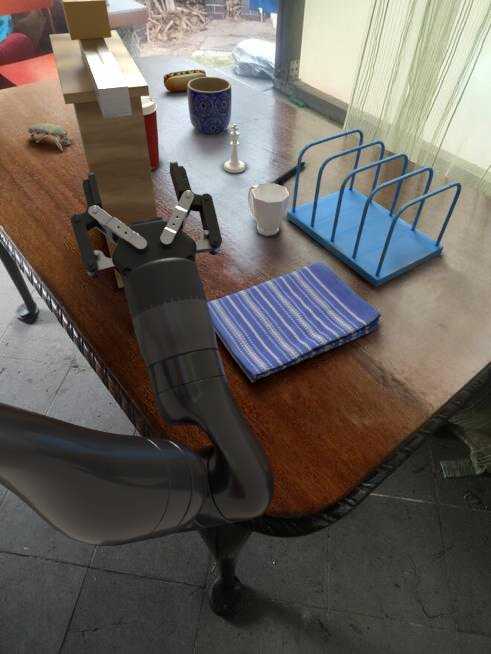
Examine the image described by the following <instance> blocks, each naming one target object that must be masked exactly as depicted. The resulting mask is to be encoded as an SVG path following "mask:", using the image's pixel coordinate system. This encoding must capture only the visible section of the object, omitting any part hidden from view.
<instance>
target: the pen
mask: <svg viewBox="0 0 491 654" xmlns="http://www.w3.org/2000/svg"><path fill="white" fill-rule="evenodd" d="M305 164H306V161H301V166H300V169H301V168H303V167H305ZM296 170H297V164H296V165H295V166H293V167H292V168H290V169H289V170H287V171H286V172H285V173H283V174H282V175H280V176H279V177H277V178H276V179H274V180H273V181H272V182H270V183H275V184H278V185H279V184H280V183H282V182H283V181H284V180H285V179H287V178H289V177H290V176H292V175H294V173H296Z"/></svg>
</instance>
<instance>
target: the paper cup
mask: <svg viewBox="0 0 491 654" xmlns="http://www.w3.org/2000/svg"><path fill="white" fill-rule="evenodd" d="M141 102H142V109H143V117H144V124H145V131H146V139H147V146H148V153H149V161H150V168H151V171H153V170H156V169H157V168H158V167H159V166H160V153H159V152H160V150H159V149H160V148H159V132H158V119H157V118H158V115H157V111H158V105H157V104H156V102H155V100H154V99H153V98H152V97H150V96H141Z"/></svg>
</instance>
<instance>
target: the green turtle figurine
mask: <svg viewBox="0 0 491 654" xmlns="http://www.w3.org/2000/svg"><path fill="white" fill-rule="evenodd" d="M27 132H28V133H29V134H31V135H30V137H31V139H29V141H31V142H32V141H33V140H34V138H35V135H37V136H41V135H42V136H41V137H39V139H37V140H35V143H40V142H41V140H42V139H43V138H46V137H51V139H52V140H53V142H54V143H55V144H56V146H57V147H58V148H59V149H60V151H61V152H62V151H64V150H63V147H62V144H61V143H60V141H63V142H64V143H63V145H65V146H67V145H68V144H71V141H70V139H69V135H68V132H67V129H66V128H65V127H63V125H59V124H57V123H47V122H46V123H45V122H44V123H43V122H35V123H33V124H31V125H30V126H29V127H28V130H27ZM58 138H59V140H58Z"/></svg>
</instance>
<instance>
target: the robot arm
mask: <svg viewBox="0 0 491 654" xmlns="http://www.w3.org/2000/svg"><path fill="white" fill-rule="evenodd" d="M86 174H87V178H86V179H83V180H82V184H81V185H82V189H83V192H84V197H85V202H86V206H87V207H86V209H85V211H83V212H82V213H75V214H72V216H70V223H71V226H72V227H71V228H72V229H73V233H74V236H75V239H76V243H77V247H78V249H79V253H80V256H81V260H82V262H83V266H84V268H85V271H86V273H87V276H88V277H89V278H90V279H93V280H94V279H98V278H99V277H100V276H101V274H103V273H107V272H110V271H111V272H112V271H114V270H115V269H116V270H117V271H118V272H119V274H120V275H121V277H122V281H123V285H124V287H123V288H124V293H125V297H126V301H127V305H128V309H129V313H130V317H131V321H132V325H133V333H134V336H135V338H136V340H137V345H138V348H139V351H140V353H141V356H142V358H143V361H144V363H145V366H146V369H147V373H148V378H149V382H150V386H151V389H152V393H153V397H154V402H155V405H156V410H157V412H158V415H159V417H160V419H161V420H162V422H163V423H164V424H166V425H167V426H173V427H179V426H181V427H183V426H196V427H198V428H199V429H201V430H202V432H203V433H204V434H205V435H206V437H207V438H208V439H209V441H210V442H211V444H210V445H205V446H203V447H198V448H195V449H192V448H191V447H190V446H188V445H186V444H184V443H182V442H179V441H176V440H172V439H167V438H159V437H150V436H142V435H141V436H140V435H133V434H132V435H131V434H121V433H113V432H107V431H102V430H99V429H93V428H89V427H85V426H82V425H79V424H74V423H71V422H68V421H65V420H62V419H58V418H56V417H52V416H50V415H49V416H48V415H46V414H43V413H39V412H36V411H33V410H29V409H26V408H22V407H19V406H15V405H12V404H8V403H5V402H2V401H0V485H1V486H3V487H4V489H7V490H8V491H10V492H11V493H13V494H14V495H15V496H16V497H18V499H20V500H21V501H22V502H23V503H25V504H26V505H27V506H28V507H29V508H30V509H31V510H32V511H33V512H35V513H36V514H37V516H39V518H41V519H42V520H43V521H44V522H46V523H47V524H48V525H49V526H50V527H52V528H53V529H54V530H55V531H57V532H59V533H60V534H62V535H63V536H65V537H67V538H69V539H71V540H73V541H75V542H78V543H82V544H86V545H89V546H97V547H115V546H123V545H128V544H133V543H137V542H143V541H148V540H153V539H154V540H155V539H159V538H163V537H166V536H171V535H173V534H181V533H182V534H183V533H188V532H195V531H201V530H205V529H211V528H215V527H220V526H225V525H231V524H234V523H240V522H241V523H242V522H246V521H250V520H254V519H257V518H259V517H261V516H262V515H264V514H265V513H266V512H267V511H268V510H269V508H270V507H271V505H272V502H273V499H274V494H275V482H276V481H275V475H274V474H275V473H274V470H273V469H274V468H273V465H272V463H271V461H270V459H269V456H268V454H267V452H266V451H265V449H264V447H263V445H262V444H261V442H260V440H259V439H258V437H257V436H256V434H255V433H254V431H253V429H252V427H251V426H250V425H249V423H248V421H247V419H246V417H245V416H244V414H243V412H242V410H241V407H239V405H238V403H237V401H236V399H235V397H234V395H233V393H232V392H231V389H230V386H229V382H228V380H227V376H226V372H225V368H224V364H223V361H222V358H221V355H220V352H219V347H218V342H217V336H216V335H217V334H216V332H215V328H214V324H213V320H212V317H211V313H210V310H209V306H208V300H207V295H206V292H205V289H204V286H203V282H202V278H201V275H200V272H199V271H200V270H199V268H198V265H197V261H196V254H203V253H208V254H209V255H211V256H216V255H218V254H219V252H220V249H221V246H222V244H223V238H222V234H221V229H220V225H219V220H218V217H217V213H216V208H215V203H214V199H213V196H212V195H211V194H210V193H207V192H205V193H202V194H197V193H195V192H194V191H193V190H192V187H191V184H190V183H191V182H190V180H189V177H188V173H187V170H186V169H185V167H184V166H183V165H179V163H178V161H177V160H174V161H170V162H169V175H170V180H171V182H172V185H173V189H174V190H173V191H174V193H175V196H176V199H177V204H176V206H175V207H174V209H173V211H172V212H171V215H170V217H169V219H167V218H163V216H157V217H156V218H153V219H151V220H148V221H140V220H139V221H133V222H131V224H130V225H129V226H126V225H125V224H123V223H122V222H121V221H119V220H118V219H117V218H115V217H111V216H110V215H109V214H108V213H106V212H105V211H104V210H103V207H102V203H101V198H100V194H99V190H98V186H97V182H96V178H95V174H94V173H90V172H89V173H86ZM191 212H198V214H199V217H200V222H201V226H202V231H200V233H199V237H198V240H197V241H195V239H194V238H192V237H191V236H190V235H189V234H187V233H186V232H185V231H184V229H185V227H186V223H187V221H188V220H189V219H188V218H189V216H190V214H191ZM94 228H95V229H97V230H98V231H99V232H100V233H102V234H103V236H105V235H106V236H107V238H108V239H109V240H110V241H111V242H112V243H114V244H115V245H116V248H115V251H114V253H113V255H112V258H111V257H107V256H105V254H104V252H103V251H101V250H99V249H95V250H94V248H93V247H94V246H93V244H92V241H91V238H90V235H89V232H90V231H91V230H93V229H94Z"/></svg>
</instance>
